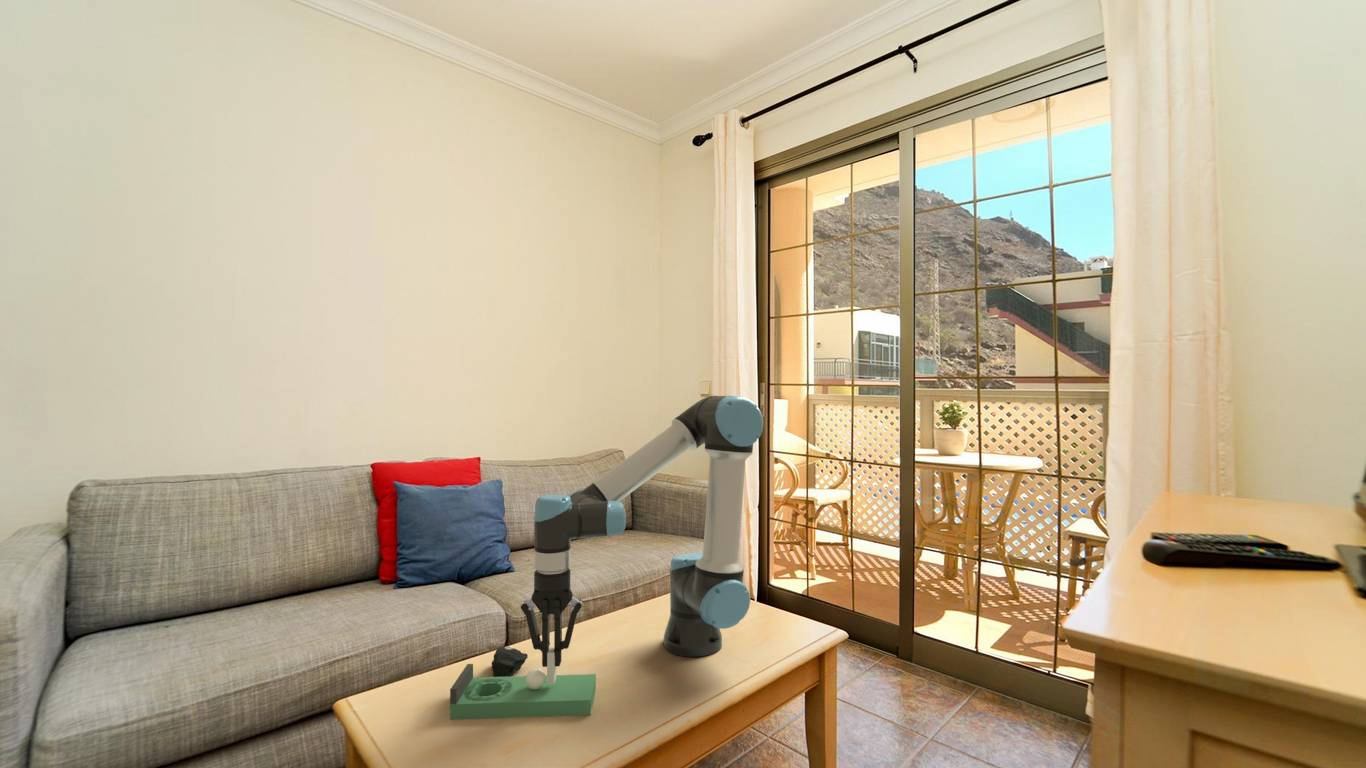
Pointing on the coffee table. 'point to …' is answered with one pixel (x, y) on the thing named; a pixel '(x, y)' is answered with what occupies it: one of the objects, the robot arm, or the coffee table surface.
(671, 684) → the coffee table surface
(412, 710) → the coffee table surface
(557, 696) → the green
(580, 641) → the coffee table surface
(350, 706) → the coffee table surface
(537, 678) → the ball
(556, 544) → the robot arm
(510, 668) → the mineral
